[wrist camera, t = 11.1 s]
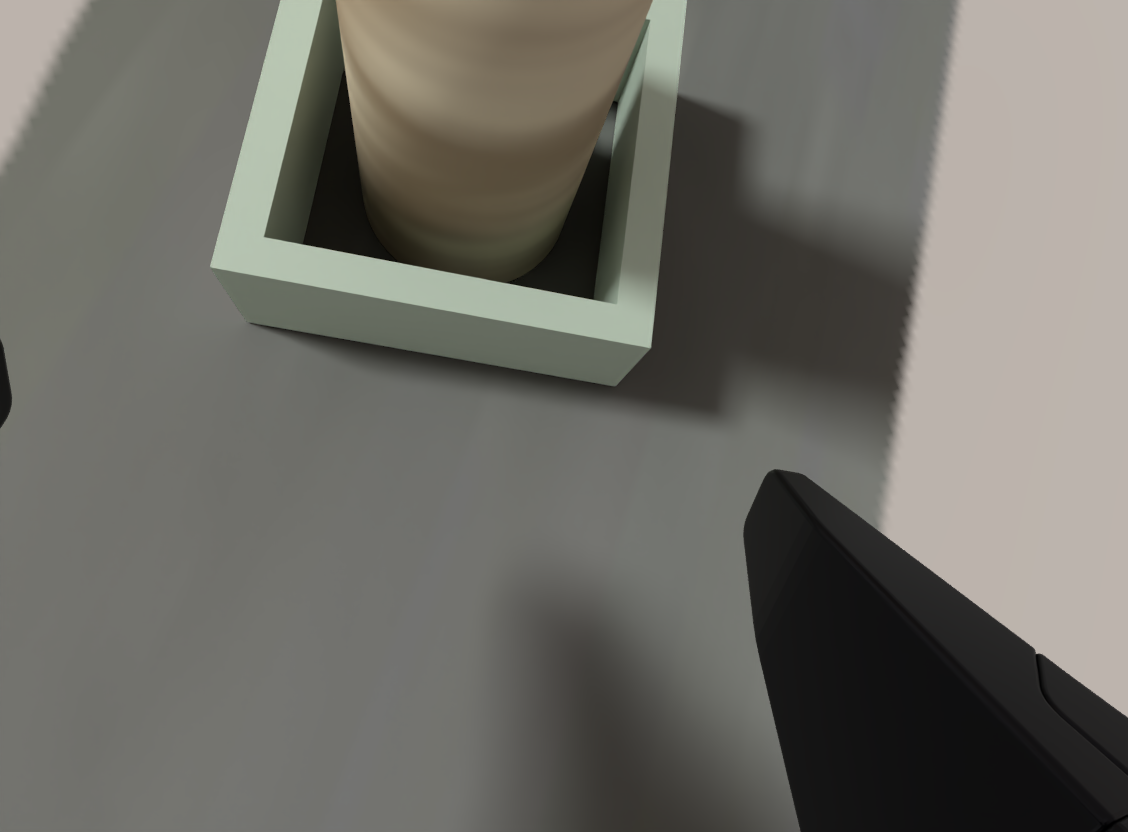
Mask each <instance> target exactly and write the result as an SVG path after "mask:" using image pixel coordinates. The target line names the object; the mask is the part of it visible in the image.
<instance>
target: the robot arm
mask: <svg viewBox="0 0 1128 832" xmlns="http://www.w3.org/2000/svg"><path fill="white" fill-rule="evenodd" d="M11 405H12V394H11V388H10V382H9V376H8V371H7V365H6V359H5V353H4V348H3V344H2V342H1V340H0V428H1V427H2V425H3V424H4V422H5V421H6V419H7V417H8V415H9V412H10V409H11ZM743 537H744V547H745V555H746V564H747V573H748V581H749V590H750V599H751V607H752V616H753V624H754V631H755V638H756V643H757V648H758V653H759V658H760V662H761V666H762V670H763V675H764V679H765V683H766V687H767V691H768V696H769V700H770V704H771V708H772V713H773V717H774V721H775V725H776V729H777V734H778V738H779V742H780V746H781V751H782V755H783V759H784V763H785V767H786V772H787V776H788V780H789V784H790V789H791V793H792V797H793V801H794V805H795V810H796V814H797V818H798V822H799V827H800V831H801V832H1128V718H1127V717H1126V716H1125V715H1123V714H1122V713H1121V712H1119V711H1118V710H1117V709H1115V708H1114V707H1112V706H1111V705H1110V704H1108V703H1107V702H1106V701H1104V700H1103V699H1102V698H1100V697H1099V696H1097V695H1096V694H1095V693H1093V692H1092V691H1091V690H1089V689H1088V688H1087V687H1085V686H1084V685H1083V684H1081V683H1080V682H1078V681H1077V680H1076V679H1074V678H1073V677H1072V676H1070V675H1069V674H1068V673H1066V672H1065V671H1064V670H1062V669H1061V668H1059V667H1058V666H1057V665H1056V664H1054V663H1053V662H1052V661H1050V660H1049V659H1048V658H1046V657H1045V656H1044V655H1042V654H1036V652H1035V649H1034V648H1033V647H1032V646H1030V645H1029V644H1028V643H1026V642H1025V641H1024V640H1022V639H1021V638H1020V637H1018V636H1017V635H1016V634H1014V633H1013V632H1012V631H1010V630H1009V629H1008V628H1006V627H1005V626H1004V625H1002V624H1001V623H999V622H998V621H997V620H996V619H994V618H993V617H992V616H990V615H989V614H988V613H986V612H985V611H984V610H983V609H981V608H980V607H979V606H977V605H976V604H975V603H973V602H972V601H971V600H969V599H968V598H967V597H965V596H964V595H963V594H961V593H960V592H959V591H957V590H956V589H955V588H953V587H952V586H951V585H949V584H948V583H947V582H945V581H944V580H943V579H941V578H940V577H939V576H938V575H936V574H935V573H933V572H932V571H931V570H930V569H928V568H927V567H925V566H924V565H923V564H921V563H920V562H919V561H917V560H916V559H915V558H913V557H912V556H911V555H910V554H908V553H907V552H906V551H904V550H903V549H902V548H900V547H899V546H898V545H896V544H895V543H894V542H892V541H891V540H890V539H888V538H887V537H886V536H884V535H883V534H882V533H881V532H879V531H878V530H877V529H875V528H874V527H873V526H871V525H870V524H869V523H867V522H866V521H865V520H863V519H862V518H861V517H859V516H858V515H857V514H855V513H854V512H853V511H851V510H850V509H849V508H847V507H846V506H845V505H843V504H842V503H841V502H839V501H838V500H837V499H835V498H834V497H833V496H831V495H830V494H829V493H827V492H826V491H825V490H824V489H822V488H821V487H820V486H818V485H817V484H816V483H814V482H813V481H812V480H810V479H809V478H808V477H806V476H805V475H803V474H800V473H795V472H790V471H784V470H778V469H774V470H772V471H770V472H768V474H767V475H766V476H765V478H764V480H763V482H762V484H761V486H760V488H759V491H758V493H757V495H756V497H755V500H754V502H753V504H752V506H751V509H750V511H749V513H748V515H747V518H746V521H745V524H744V533H743Z"/></svg>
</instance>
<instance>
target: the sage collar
mask: <svg viewBox="0 0 1128 832" xmlns="http://www.w3.org/2000/svg"><path fill="white" fill-rule="evenodd" d="M686 4H687V0H653V2H652V4H651V7H650V9H649V12H648V14H647V17H646V19H645V22H644V24H643V27H642V29H641V32H640V34H639V37H638V39H637V42H636V44H635V47H634V49H633V52H632V54H631V57H630V59H629V62H628V64H627V67H626V69H625V72H624V74H623V77H622V79H621V82H620V84H619V87H618V90H617V92H616V95H615V97H614V100H613V101H616V102H618V108H617V116H616V124H615V132H614V140H613V148H612V156H611V163H610V171H609V179H608V187H607V195H606V203H605V211H604V219H603V227H602V235H601V243H600V251H599V259H598V267H597V275H596V283H595V291H594V299H593V300H591V299H585V298H580V297H575V296H570V295H565V294H559V293H554V292H549V291H544V290H538V289H533V288H528V287H523V286H517V285H512V284H507V283H502V282H496V281H491V280H486V279H481V278H475V277H470V276H465V275H460V274H454V273H449V272H444V271H439V270H433V269H428V268H423V267H418V266H413V265H407V264H402V263H397V262H392V261H386V260H381V259H376V258H371V257H365V256H360V255H355V254H350V253H344V252H339V251H334V250H329V249H323V248H318V247H313V246H308V245H303V241H304V237H305V233H306V229H307V224H308V220H309V216H310V211H311V207H312V203H313V199H314V194H315V190H316V186H317V181H318V177H319V173H320V169H321V164H322V160H323V156H324V151H325V147H326V143H327V138H328V134H329V130H330V126H331V121H332V117H333V113H334V108H335V104H336V100H337V96H338V91H339V87H340V83H341V78H342V74H343V70H344V66H345V64H344V56H343V49H342V42H341V35H340V28H339V20H338V13H337V6H336V0H281V1H280V5H279V8H278V12H277V16H276V20H275V24H274V27H273V31H272V35H271V39H270V42H269V46H268V50H267V54H266V58H265V61H264V65H263V69H262V73H261V76H260V80H259V84H258V88H257V92H256V95H255V99H254V103H253V107H252V110H251V114H250V118H249V122H248V126H247V129H246V133H245V137H244V141H243V145H242V148H241V152H240V156H239V160H238V163H237V167H236V171H235V175H234V179H233V182H232V186H231V190H230V194H229V197H228V201H227V205H226V209H225V213H224V216H223V220H222V224H221V228H220V231H219V235H218V239H217V243H216V247H215V250H214V254H213V258H212V262H211V265H210V268H211V269H212V271H213V272H214V274H215V275H216V277H217V278H218V280H219V281H220V283H221V284H222V286H223V287H224V289H225V290H226V292H227V293H228V295H229V296H230V298H231V299H232V301H233V302H234V304H235V305H236V307H237V308H238V310H239V311H240V313H241V314H242V316H243V317H244V319H245V320H246V322H249V323H255V324H261V325H266V326H272V327H278V328H283V329H289V330H295V331H301V332H306V333H312V334H318V335H323V336H329V337H335V338H341V339H346V340H352V341H358V342H363V343H369V344H375V345H381V346H386V347H392V348H398V349H404V350H409V351H415V352H421V353H426V354H432V355H438V356H444V357H449V358H455V359H461V360H466V361H472V362H478V363H484V364H489V365H495V366H501V367H506V368H512V369H518V370H524V371H529V372H535V373H541V374H546V375H552V376H558V377H564V378H569V379H575V380H581V381H586V382H592V383H598V384H604V385H609V386H616V385H617V384H618V383H619V382H620V381H621V380H622V379H623V378H624V377H625V376H626V375H627V373H628V372H629V371H630V370H631V369H632V368H633V367H634V366H635V365H636V364H637V363H638V362H639V360H640V359H641V358H642V357H643V356H644V355H645V354H646V353H647V352H648V351H649V350H650V349H651V342H652V333H653V323H654V313H655V304H656V294H657V284H658V275H659V265H660V255H661V246H662V236H663V226H664V217H665V207H666V198H667V188H668V178H669V169H670V159H671V149H672V140H673V130H674V120H675V111H676V101H677V91H678V82H679V72H680V62H681V53H682V43H683V33H684V24H685V14H686Z"/></svg>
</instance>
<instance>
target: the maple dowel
mask: <svg viewBox="0 0 1128 832" xmlns="http://www.w3.org/2000/svg"><path fill="white" fill-rule="evenodd" d="M652 2H653V0H336V6H337V13H338V20H339V28H340V35H341V42H342V49H343V56H344V64H345V71H346V78H347V85H348V93H349V100H350V107H351V114H352V122H353V129H354V136H355V143H356V150H357V158H358V165H359V172H360V179H361V187H362V194H363V201H364V207H365V210H366V214H367V218H368V220H369V222H370V225H371V227H372V229H373V231H374V233H375V235H376V236H377V238H378V240H379V241H380V242H381V244H382V245H383V246H384V247H385V249H386V250H387V251H388V252H389V253H390V254H391V255H392V256H393V257H394V258H395V259H396V260H397V261H398V262H400V263H402V264H407V265H413V266H418V267H423V268H428V269H433V270H439V271H444V272H449V273H454V274H460V275H465V276H470V277H475V278H481V279H486V280H491V281H496V282H502V283H507V282H510V281H513V280H515V279H517V278H519V277H521V276H523V275H524V274H526V273H527V272H529V271H530V270H532V269H533V268H535V267H536V266H537V265H538V264H539V263H540V262H541V261H542V260H543V259H544V258H545V257H546V256H547V255H548V253H549V252H550V251H551V250H552V248H553V246H554V245H555V243H556V242H557V240H558V237H559V235H560V233H561V230H562V228H563V225H564V223H565V220H566V218H567V215H568V213H569V210H570V208H571V205H572V203H573V200H574V198H575V195H576V193H577V190H578V188H579V185H580V183H581V180H582V178H583V175H584V173H585V170H586V167H587V165H588V162H589V160H590V157H591V155H592V152H593V150H594V147H595V145H596V142H597V140H598V137H599V135H600V132H601V130H602V127H603V125H604V122H605V120H606V117H607V115H608V112H609V110H610V107H611V105H612V102H613V100H614V97H615V95H616V92H617V90H618V87H619V84H620V82H621V79H622V77H623V74H624V72H625V69H626V67H627V64H628V62H629V59H630V57H631V54H632V52H633V49H634V47H635V44H636V42H637V39H638V37H639V34H640V32H641V29H642V27H643V24H644V22H645V19H646V17H647V14H648V12H649V9H650V7H651V4H652Z"/></svg>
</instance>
